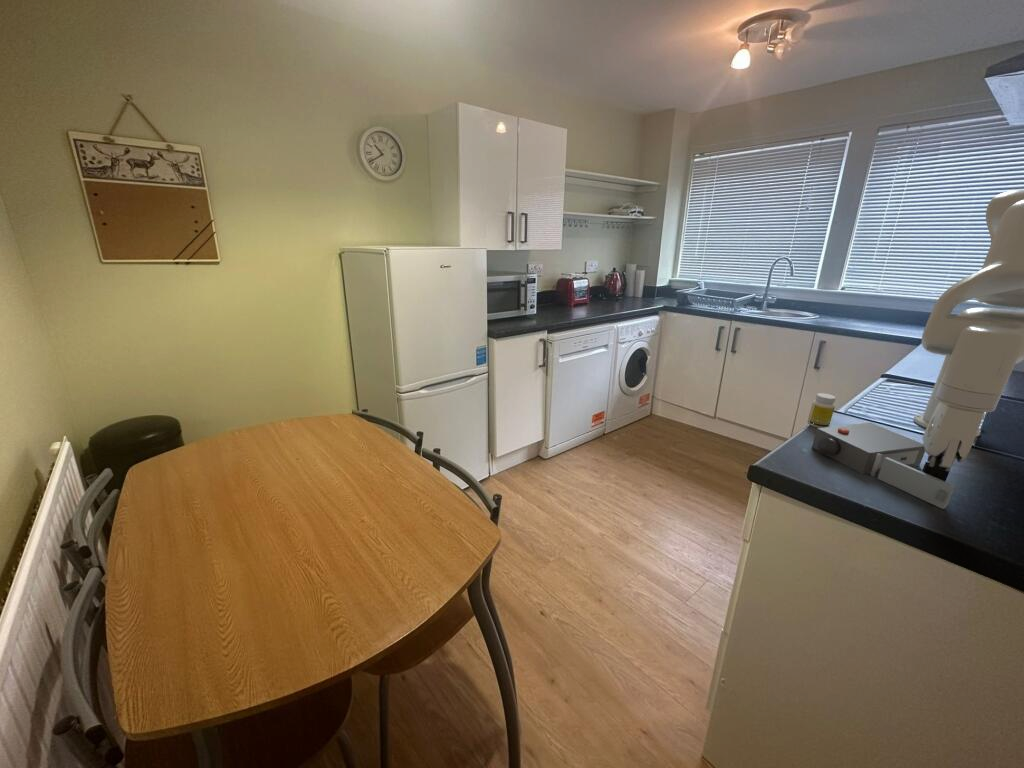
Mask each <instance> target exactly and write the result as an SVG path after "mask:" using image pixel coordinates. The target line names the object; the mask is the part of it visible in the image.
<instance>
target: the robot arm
mask: <svg viewBox="0 0 1024 768" xmlns="http://www.w3.org/2000/svg"><path fill="white" fill-rule="evenodd" d="M985 211H986V212H985V222H986V226H987V229H988V230H987V231H988V232H989V233H988V234H989V237H990V246H989V249H988V251H987V253H986V257H985V258H984V261H983V264H982V267H981V269H979V270H977V271H975V272H973V273H971V274H969V275H967V276H965V277H963V278H962V279H960V280H958V281H957V282H955V283H954V284H953V285H951V286H950V287H949V288H947V289H946V290H945V291H944V292H943V293H942V294H941V295H940V296H939V298H938V299H937V301H936V302H935V304H934V305H933V308H932V310H931V312H930V315H929V317H928V319H927V322H926V324H925V327H924V330H923V333H922V336H921V345H922V348H923V349H924V350H925V351H926V352H929V353H931V354H935V355H940V356H945V357H944V360H943V362H942V365H941V368H940V370H939V373H938V376H937V378H936V380H935V384H934V386H933V389H932V391H931V395H930V396H929V400H928V403H927V405H926V407H925V410H924V412H923V413H918V414H916V415H914V416H913V422H914V423H915V424H917V425H918V426H920V427H923V428H925V430H924V432H923V436H922V444H924V448H925V453H926V454H927V455H928V456H927V461H925V463H924V465H923V468H922V470H921V472H924V473H926V474H928V475H931V476H933V477H935V478H938V479H940V480H943V481H945V482H947V479H948V476H949V474H950V472H951V469H952V467H953V464H954V462H955V461H957V463H962V462H964V461H965V460H967V459H966V458H967V457H968V455H969V452H970V450H971V449H972V446H973V443H974V441H975V439H976V438H977V437H979V436H980V434H981V433H982V432H981V431H982V430H981V429H980V426H981V424H982V421H983V420H985V417H986V415H985V413H992V412H995V410H996V408H997V406H998V404H999V401H1000V399H1001V396H1002V394H1003V392H1004V390H1005V387H1006V385H1007V383H1008V381H1009V379H1010V377H1011V374H1012V372H1013V371H1014V368H1015V366H1016V365H1017V364H1019V363H1021V362H1022V361H1024V310H1015V309H1004V307H1005V308H1016V309H1024V189H1019V190H1012V191H1011V190H1009V191H1006V192H1002V193H999V194H997V195H995V196H994V197H992V199H990V201H989V203H988V204H987V207H986V210H985ZM973 299H975V300H976V301H977V302H978V303H979V304H984V305H988V306H995V307H996V306H997V307H1003V308H995V307H994V308H992V307H971V308H967V309H963V311H960V312H959V313H958V314H957V315H951V314H952V313H953V310H954V309H955V308H957V307H958V306H959V305H962V304H964V303H965V302H967V301H970V300H973Z"/></svg>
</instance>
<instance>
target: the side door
mask: <svg viewBox="0 0 1024 768" xmlns="http://www.w3.org/2000/svg"><path fill="white" fill-rule="evenodd" d="M877 480H880V481H883V482H885V483H886V484H888V485H891V486H893V487H895V488H897V489H899V490H901V491H903V492H906V493H907V494H910V495H912V496H913V497H916V498H918V499H920V500H922V501H924V502H927V503H928V504H930V505H934V506H935V507H937V508H940V509H941V510H944V509H946V508H947V506H948V504H949V502H950V499H951V497H952V494H953V493H954V490H955V488H956V485H954V484H951V483H949V482H947V481H943V480H940V479H938V478H935V477H933V476H931V475H928V474H926V473H924V472H922V470H918V469H916V468H915V467H909V466H907V465H905V464H902V463H900V462H898V461H895V460H893V459H891V458H888V457H887V458H885V459H884V461H883V464H882V467H881V470H880V472H879V473H878V476H877Z"/></svg>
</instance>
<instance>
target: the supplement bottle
mask: <svg viewBox="0 0 1024 768" xmlns="http://www.w3.org/2000/svg"><path fill="white" fill-rule="evenodd" d="M835 401H836V396H835V395H832V394H829V393H823V392H822V393H820V392H819V393H816V396H815V399H814V400H813V401H812V404H811V408H810V411H809V415H808V419H807V424H808V425H809V426H811V427H813V428H816V429H817V428H824V427H830V424H831V421H832V419H833V415H834V411H835V407H836V405H835V404H834V403H835ZM817 420H818V421H817ZM813 423H814V424H813ZM811 424H813V425H811Z"/></svg>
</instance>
